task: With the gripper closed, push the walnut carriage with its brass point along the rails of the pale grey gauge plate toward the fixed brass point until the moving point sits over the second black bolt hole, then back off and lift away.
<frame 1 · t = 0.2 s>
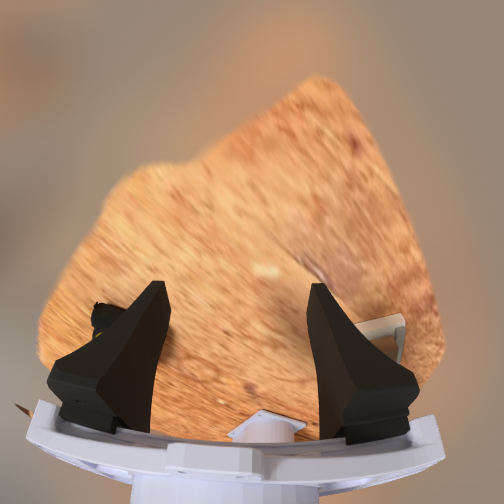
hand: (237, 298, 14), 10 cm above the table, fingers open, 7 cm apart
tape measure: (128, 320, 29), on the table
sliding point: (373, 358, 26), point 3 cm above the table, slide at 0.0 cm
gauge plate: (363, 374, 32), on the table
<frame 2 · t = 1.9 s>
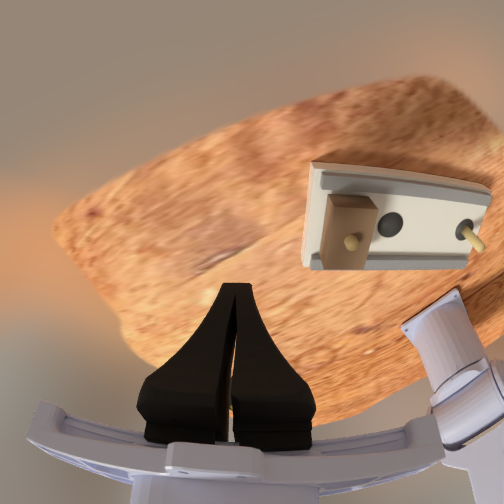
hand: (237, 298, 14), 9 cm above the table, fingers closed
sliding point: (347, 234, 19), point 3 cm above the table, slide at 0.0 cm
gauge plate: (409, 217, 22), on the table
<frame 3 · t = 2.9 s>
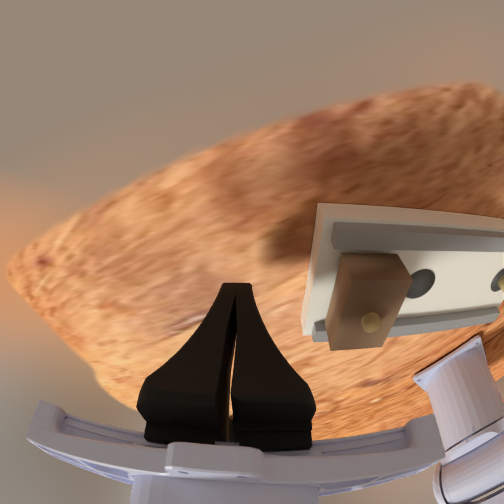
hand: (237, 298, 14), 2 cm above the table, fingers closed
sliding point: (365, 307, 14), point 3 cm above the table, slide at 0.0 cm
gauge plate: (439, 267, 16), on the table
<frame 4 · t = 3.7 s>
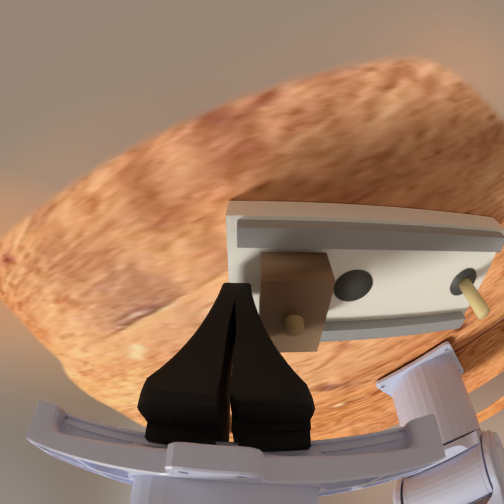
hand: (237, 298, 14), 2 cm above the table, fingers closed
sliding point: (291, 309, 14), point 3 cm above the table, slide at 0.5 cm, touching gripper
gauge plate: (385, 268, 16), on the table
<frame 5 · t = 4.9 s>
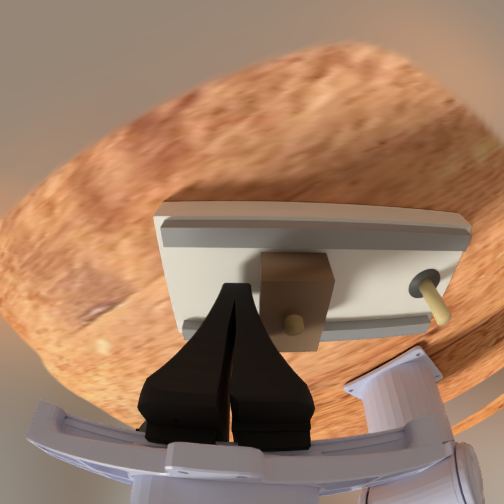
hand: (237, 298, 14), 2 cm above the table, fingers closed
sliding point: (291, 309, 14), point 3 cm above the table, slide at 3.8 cm, touching gripper
gauge plate: (333, 268, 16), on the table
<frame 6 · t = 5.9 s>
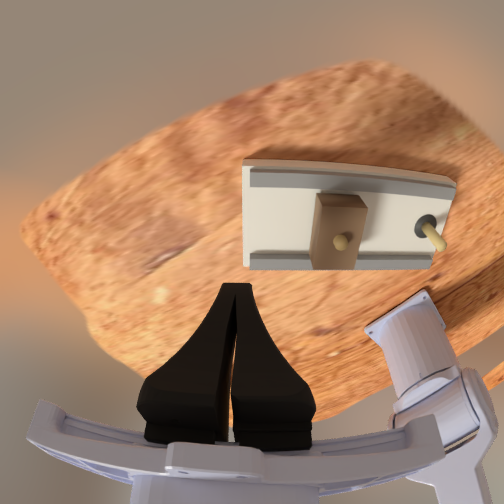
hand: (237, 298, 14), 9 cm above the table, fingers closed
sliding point: (337, 234, 19), point 3 cm above the table, slide at 3.8 cm
gauge plate: (359, 213, 22), on the table
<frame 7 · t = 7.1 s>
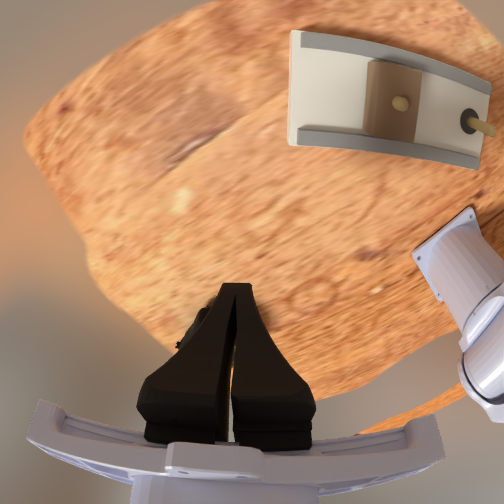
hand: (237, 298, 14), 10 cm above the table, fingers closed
tape measure: (212, 324, 31), on the table
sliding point: (393, 101, 15), point 3 cm above the table, slide at 3.8 cm
gauge plate: (406, 102, 17), on the table
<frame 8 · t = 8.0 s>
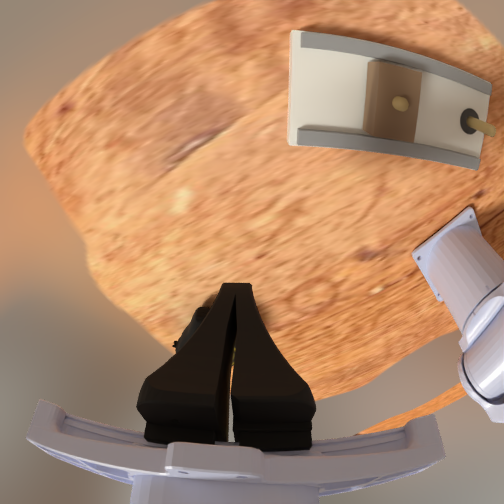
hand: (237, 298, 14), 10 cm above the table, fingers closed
tape measure: (209, 323, 31), on the table
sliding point: (393, 101, 15), point 3 cm above the table, slide at 3.8 cm
gauge plate: (406, 102, 17), on the table
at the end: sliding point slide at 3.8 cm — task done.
